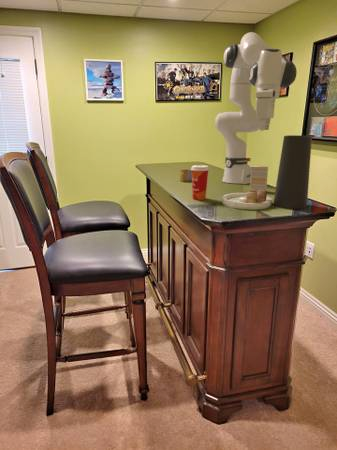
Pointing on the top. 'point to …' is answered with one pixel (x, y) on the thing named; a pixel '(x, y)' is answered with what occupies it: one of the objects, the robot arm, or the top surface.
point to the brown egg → (261, 196)
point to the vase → (293, 173)
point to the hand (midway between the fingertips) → (264, 130)
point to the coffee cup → (199, 181)
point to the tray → (243, 202)
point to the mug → (185, 175)
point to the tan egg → (251, 197)
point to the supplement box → (258, 178)
